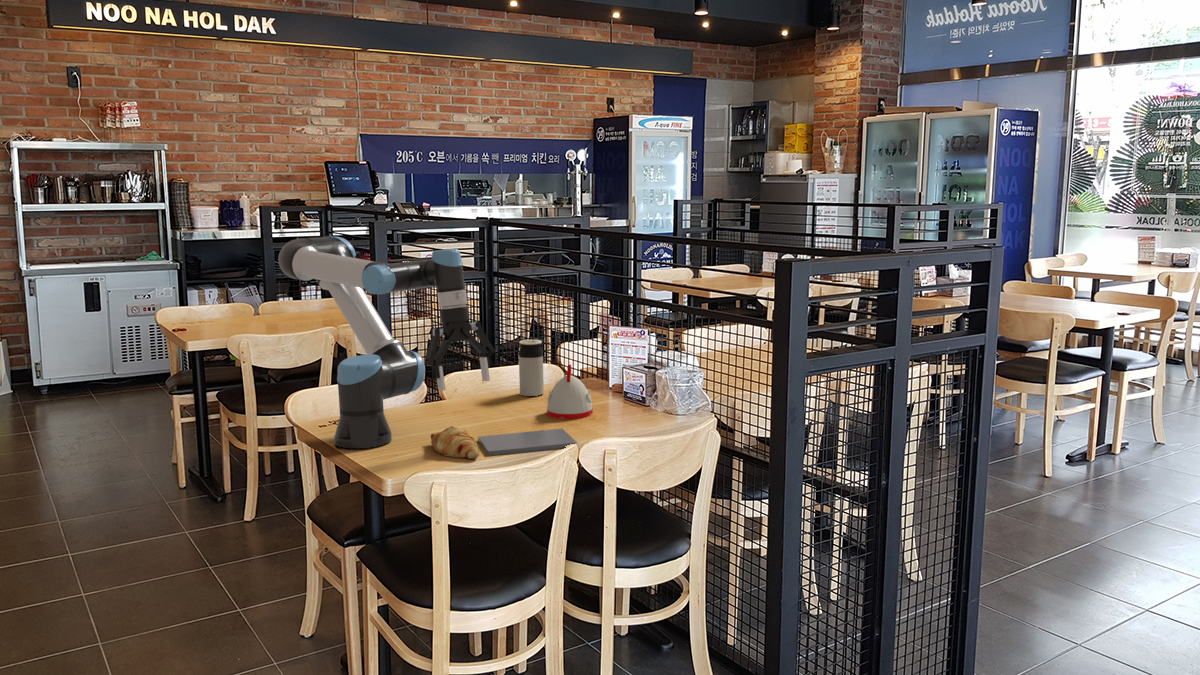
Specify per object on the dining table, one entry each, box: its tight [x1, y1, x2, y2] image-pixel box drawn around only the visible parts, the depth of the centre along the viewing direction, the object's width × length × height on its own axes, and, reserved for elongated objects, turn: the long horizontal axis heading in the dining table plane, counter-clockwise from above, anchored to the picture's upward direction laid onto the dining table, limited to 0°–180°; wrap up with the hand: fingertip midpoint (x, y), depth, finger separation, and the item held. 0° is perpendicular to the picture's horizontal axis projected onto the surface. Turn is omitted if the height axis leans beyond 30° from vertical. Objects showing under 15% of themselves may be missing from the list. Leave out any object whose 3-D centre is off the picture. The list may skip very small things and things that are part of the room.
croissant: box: [430, 425, 480, 460], centre depth 240 cm, size 21×10×8 cm, turn 43°
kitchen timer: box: [546, 364, 594, 420], centre depth 278 cm, size 14×14×15 cm
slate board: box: [477, 428, 578, 457], centre depth 247 cm, size 24×15×2 cm, turn 108°
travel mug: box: [518, 339, 545, 397], centre depth 304 cm, size 8×8×18 cm
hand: (464, 385), depth 245 cm, fingers open, 13 cm apart
